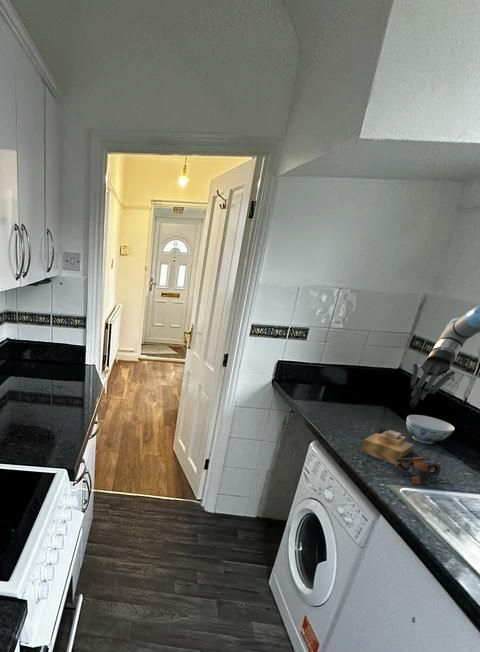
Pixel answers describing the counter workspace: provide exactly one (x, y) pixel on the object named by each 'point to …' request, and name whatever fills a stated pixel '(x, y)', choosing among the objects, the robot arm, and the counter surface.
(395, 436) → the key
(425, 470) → the brown toy vehicle
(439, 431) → the chinaware
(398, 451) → the stepped wooden block
